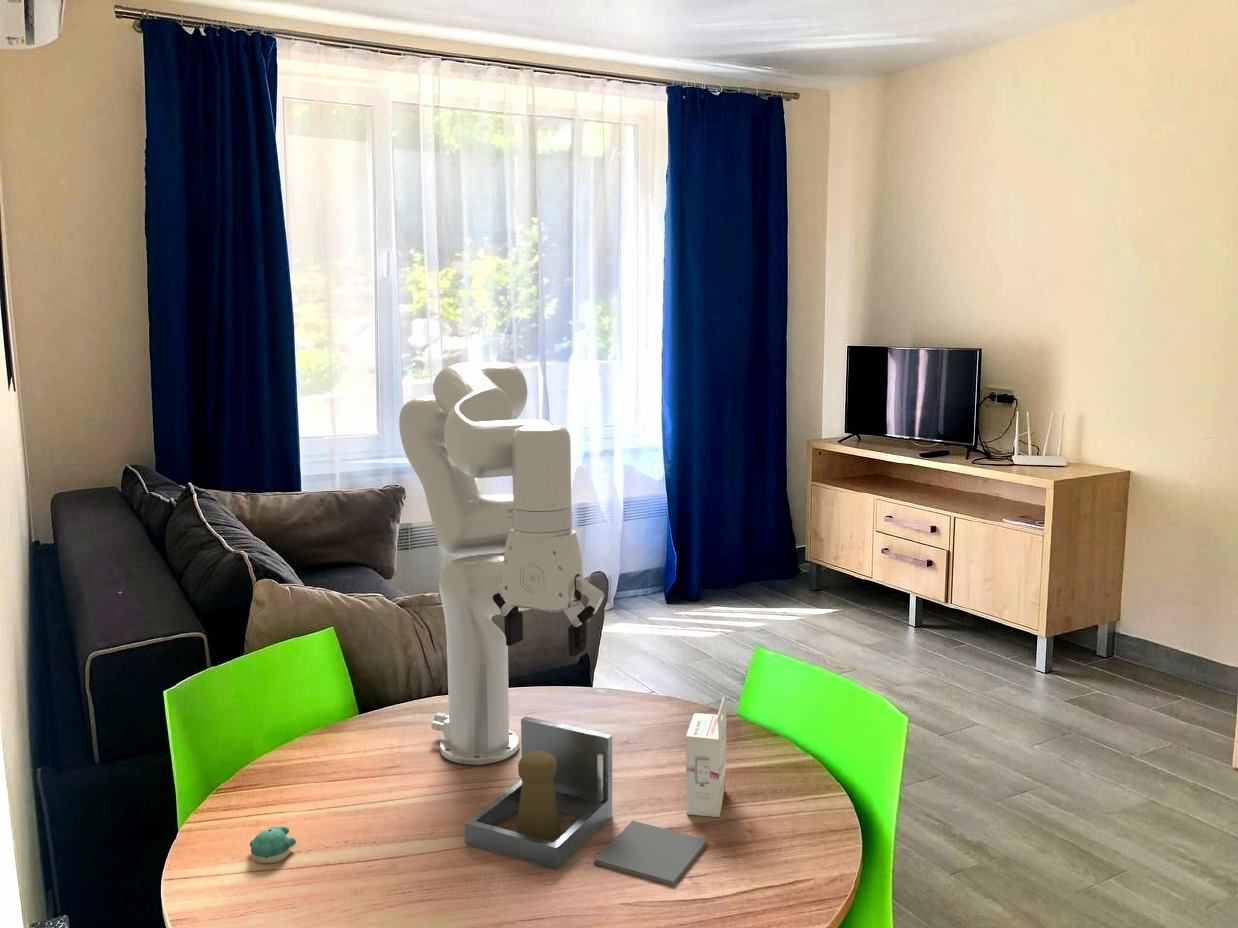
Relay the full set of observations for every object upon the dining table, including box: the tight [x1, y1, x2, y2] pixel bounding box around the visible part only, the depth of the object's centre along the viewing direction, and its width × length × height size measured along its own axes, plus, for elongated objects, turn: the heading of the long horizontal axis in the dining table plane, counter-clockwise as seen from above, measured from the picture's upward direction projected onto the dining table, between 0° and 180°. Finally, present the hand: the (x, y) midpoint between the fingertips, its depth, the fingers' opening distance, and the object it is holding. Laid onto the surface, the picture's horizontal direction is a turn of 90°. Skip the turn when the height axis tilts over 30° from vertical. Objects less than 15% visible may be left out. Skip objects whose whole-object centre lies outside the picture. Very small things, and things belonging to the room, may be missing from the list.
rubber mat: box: [594, 820, 708, 887], centre depth 130 cm, size 11×11×1 cm
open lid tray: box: [464, 716, 613, 871], centre depth 135 cm, size 14×15×12 cm
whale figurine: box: [249, 826, 297, 864], centre depth 131 cm, size 6×7×4 cm
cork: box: [515, 751, 561, 842], centre depth 135 cm, size 6×6×11 cm
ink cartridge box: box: [685, 696, 727, 818], centre depth 143 cm, size 9×5×15 cm, turn 168°
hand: (545, 648), depth 132 cm, fingers open, 9 cm apart
